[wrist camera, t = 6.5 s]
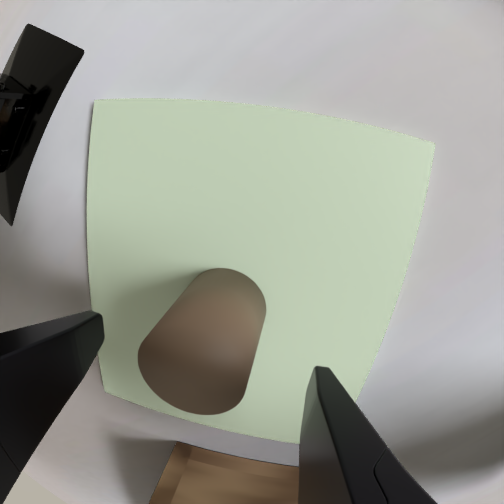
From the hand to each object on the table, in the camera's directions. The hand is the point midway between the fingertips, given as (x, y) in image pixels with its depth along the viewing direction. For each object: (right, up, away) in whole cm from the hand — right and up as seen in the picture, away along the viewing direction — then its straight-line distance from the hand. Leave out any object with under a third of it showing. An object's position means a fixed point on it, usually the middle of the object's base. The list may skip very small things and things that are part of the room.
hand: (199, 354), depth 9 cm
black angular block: (-10, +9, +3) cm, 14 cm away
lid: (+1, +1, +4) cm, 4 cm away
